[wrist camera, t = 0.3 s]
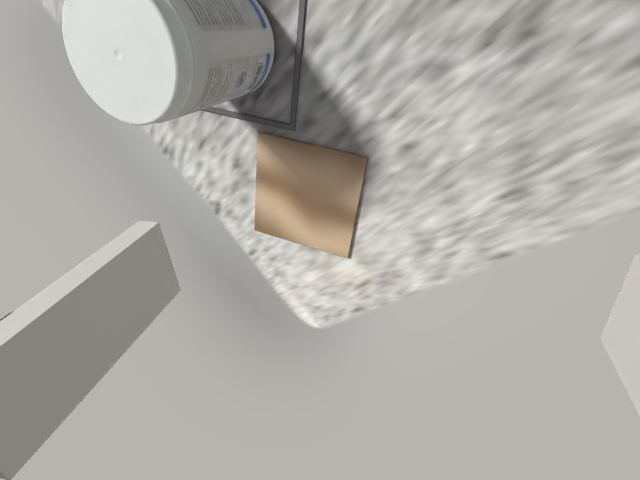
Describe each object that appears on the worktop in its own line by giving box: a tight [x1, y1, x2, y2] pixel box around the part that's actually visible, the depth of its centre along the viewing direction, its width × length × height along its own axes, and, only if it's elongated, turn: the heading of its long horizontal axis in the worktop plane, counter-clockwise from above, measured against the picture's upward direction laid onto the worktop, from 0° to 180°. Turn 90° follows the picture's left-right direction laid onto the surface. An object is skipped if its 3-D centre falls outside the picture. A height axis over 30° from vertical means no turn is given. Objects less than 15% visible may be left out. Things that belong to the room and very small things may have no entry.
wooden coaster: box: [255, 132, 368, 258], centre depth 42 cm, size 12×12×1 cm
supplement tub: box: [62, 0, 274, 125], centre depth 31 cm, size 10×10×15 cm
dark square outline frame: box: [202, 0, 306, 131], centre depth 37 cm, size 14×14×1 cm
